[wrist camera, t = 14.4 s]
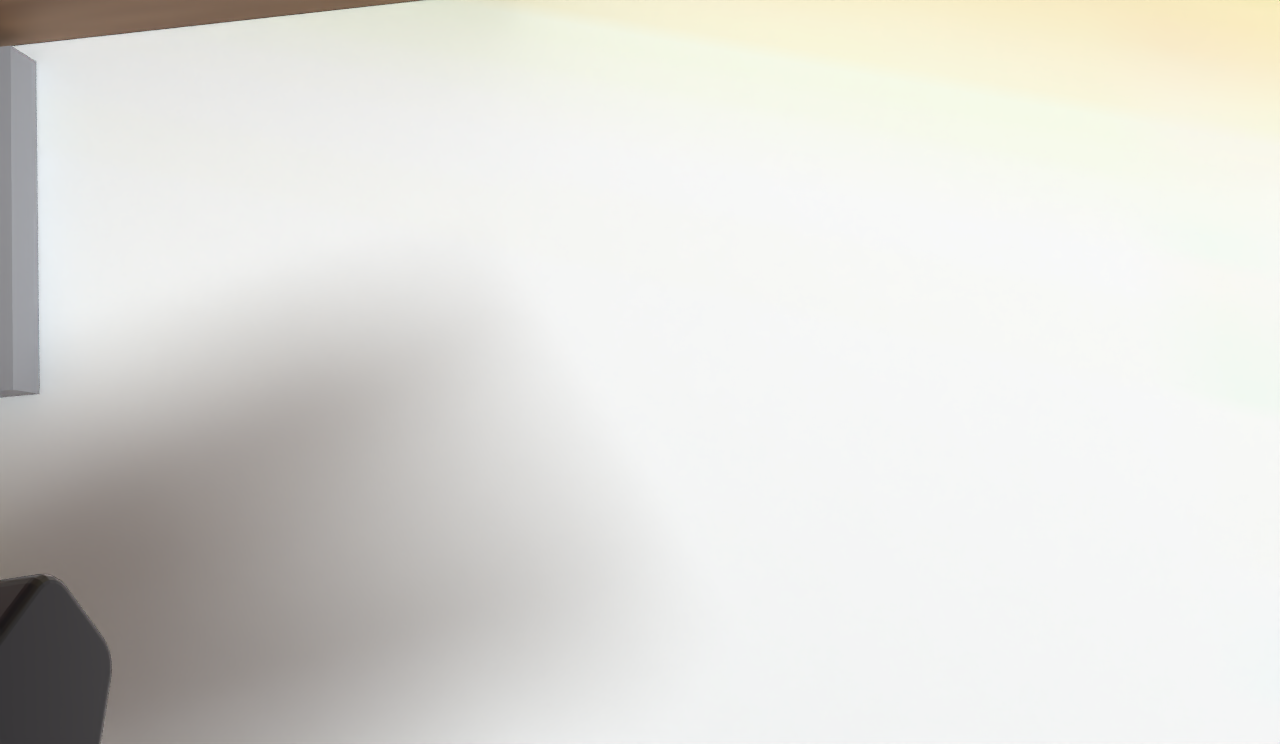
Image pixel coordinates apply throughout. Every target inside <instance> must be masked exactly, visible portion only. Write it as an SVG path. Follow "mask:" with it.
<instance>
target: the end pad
mask: <svg viewBox="0 0 1280 744" xmlns="http://www.w3.org/2000/svg"><path fill="white" fill-rule="evenodd" d="M31 394H39V309H38V213H37V117H36V61H34V60H33V59H31V58H29V57H28V56H26V55H25V54H23V53H21V52H20V51H18V50H17V49H15V48H14V47H12V46H2V47H0V397H8V396H19V395H31Z"/></svg>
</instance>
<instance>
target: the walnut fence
mask: <svg viewBox="0 0 1280 744" xmlns="http://www.w3.org/2000/svg"><path fill="white" fill-rule="evenodd" d="M408 1H417V0H0V47H2V46H12V45H21V44H30V43H39V42H48V41H57V40H66V39H75V38H84V37H93V36H102V35H111V34H120V33H129V32H138V31H147V30H156V29H165V28H174V27H183V26H192V25H201V24H210V23H219V22H228V21H237V20H246V19H255V18H264V17H273V16H282V15H291V14H300V13H309V12H318V11H327V10H336V9H345V8H354V7H363V6H372V5H381V4H390V3H399V2H408Z"/></svg>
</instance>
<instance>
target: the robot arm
mask: <svg viewBox="0 0 1280 744" xmlns="http://www.w3.org/2000/svg"><path fill="white" fill-rule="evenodd" d="M111 673H112V664H111V656H110V651H109V649H108V646H107V643H106V641H105V640H104V638H103V636H102V635H101V634H100V632H99V631H98V629H97V628H96V627H95V625H94V624H93V623H92V621H91V620H90V618H89V617H88V616H87V614H86V613H85V612H84V610H83V609H82V607H81V606H80V605H79V603H78V602H77V600H76V599H75V598H74V596H73V595H72V594H71V592H70V591H69V589H68V588H67V587H66V585H65V584H64V583H63V582H62V581H61V580H59V579H57V578H56V577H54V576H52V575H47V574H37V575H31V576H24V577H17V578H11V579H4V580H0V744H101V738H102V731H103V725H104V719H105V713H106V706H107V700H108V694H109V688H110V682H111Z"/></svg>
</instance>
